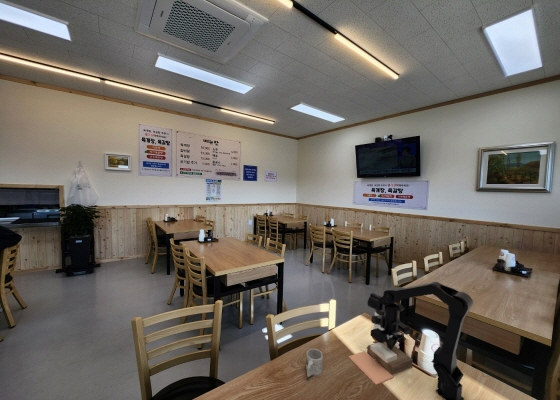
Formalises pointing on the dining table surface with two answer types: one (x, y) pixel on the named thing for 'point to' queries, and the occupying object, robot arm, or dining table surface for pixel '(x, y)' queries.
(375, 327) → the jar
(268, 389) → the dining table surface
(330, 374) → the dining table surface
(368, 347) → the brown rectangular block
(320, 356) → the mug
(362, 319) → the dining table surface
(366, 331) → the dining table surface
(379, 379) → the mat
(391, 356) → the grey flat block
